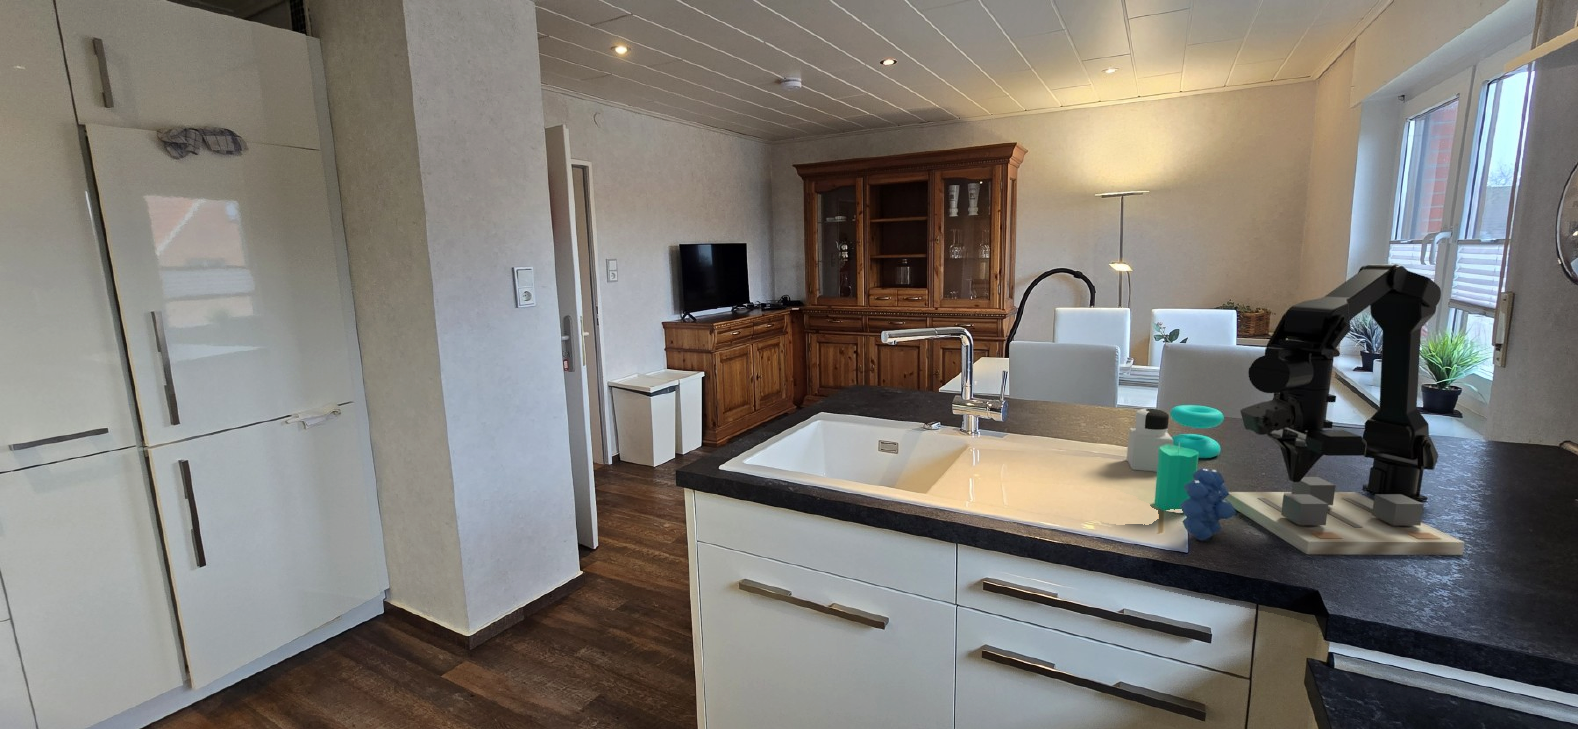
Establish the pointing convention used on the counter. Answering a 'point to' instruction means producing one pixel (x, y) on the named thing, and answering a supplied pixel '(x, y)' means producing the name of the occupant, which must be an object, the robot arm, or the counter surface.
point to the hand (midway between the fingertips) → (1294, 481)
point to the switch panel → (1345, 528)
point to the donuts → (1197, 419)
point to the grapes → (1206, 504)
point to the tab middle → (1315, 488)
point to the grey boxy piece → (1397, 509)
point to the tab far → (1304, 509)
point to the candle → (1174, 475)
